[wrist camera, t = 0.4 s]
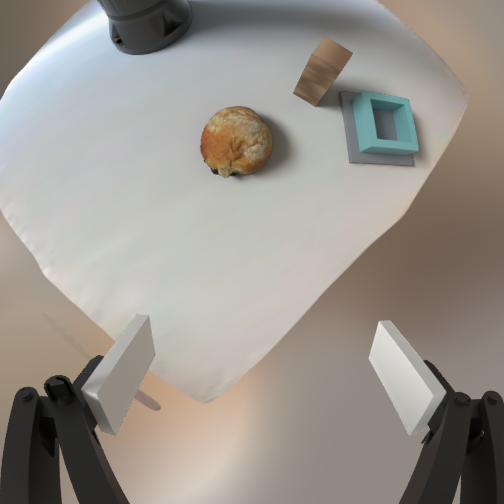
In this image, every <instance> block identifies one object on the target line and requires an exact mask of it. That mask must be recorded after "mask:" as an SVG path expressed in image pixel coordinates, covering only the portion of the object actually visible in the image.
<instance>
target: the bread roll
mask: <svg viewBox="0 0 504 504" xmlns="http://www.w3.org/2000/svg"><path fill="white" fill-rule="evenodd" d="M200 148H201V154H202V156H203V157H204V162H205V163H207V164H208V166H209V167H210V168H211V171H212V172H213V173H214V174H216V175H218V174H219V175H220V176H222V177H224V178H226V177H227V178H228V177H229V176H235V175H237V174H242V175H244V174H250V173H254V172H255V171H257V170H258V169H260V168H261V167H262V166H263V165H264V164H265V163H266V160H267V159H268V158H269V156H270V154H271V152H272V149H273V140H272V135H271V132H270V129H269V128H268V127H267V126H266V124H264V122H263V121H262V119H261V118H260V117H259V116H258V115H257V114H256V113H255V111H253V110H252V109H250V108H247V107H242V106H235V107H228V108H226V109H223V110H220V111H219V112H217V113H216V114H215V115H214V116H213V117H212V118H211V119H210V121H209V122H208V123H207V125H206V126H205V128H204V131H203V133H202V138H201V146H200Z"/></svg>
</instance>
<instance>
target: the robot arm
mask: <svg viewBox="0 0 504 504" xmlns="http://www.w3.org/2000/svg"><path fill="white" fill-rule="evenodd" d="M97 1H98V3H99V4H100V5H101V7H102V8H103V10H104V11H105V13H106V14H107V16H108V19H109V30H110V37H111V40H112V42H113V43H114V45H115V46H116V47H117V49H118V50H120V51H121V52H123V53H126V54H132V55H139V54H146V53H151V52H154V51H157V50H160V49H162V48H164V47H166V46H168V45H170V44H171V43H173V42H175V41H176V40H177V39H179V38H180V37H181V36H182V35H183V34H184V33H185V32H186V31H187V29H188V28H189V26H190V24H191V21H192V11H191V7H190V4H189V3H188V1H187V0H97ZM154 356H155V350H154V344H153V338H152V332H151V326H150V319H149V315H139V314H137V315H136V316H135V317H134V319H133V320H132V321H131V322H130V324H129V325H128V326H127V328H126V329H125V330H124V331H123V333H122V334H121V335H120V337H119V338H118V339H117V341H116V342H115V343H114V345H113V346H112V347H111V349H110V350H109V351H108V353H107V354H106V355H105V356H100V355H98V356H96V357H95V358H93V359H91V360H90V361H89V363H88V364H87V366H86V368H84V369H83V371H82V373H80V375H79V376H78V377H77V378H76V380H75V381H74V383H73V384H71V382H70V380H69V378H67V377H66V376H62V375H55V376H53V377H50V378H49V379H48V380H46V382H45V384H44V389H45V391H46V393H47V395H48V397H46V396H39V394H38V393H37V391H36V389H34V388H32V387H24V388H22V389H20V390H19V391H18V392H17V393H16V395H15V398H14V402H13V406H12V410H11V414H10V419H9V423H8V428H7V433H6V438H5V445H4V451H3V458H2V467H1V480H0V504H62V500H61V488H60V471H59V470H60V468H59V443H60V447H61V451H62V455H63V458H64V461H65V465H66V468H67V471H68V474H69V477H70V480H71V483H72V485H73V489H74V491H75V494H76V496H77V499H78V501H79V504H130V503H129V501H128V500H127V498H126V496H125V494H124V493H123V491H122V489H121V487H120V485H119V483H118V481H117V479H116V477H115V475H114V473H113V471H112V469H111V467H110V465H109V463H108V460H107V459H106V456H105V454H104V451H103V449H102V447H101V444H100V442H99V439H98V437H97V435H96V432H95V430H94V428H95V427H96V425H97V424H98V426H99V428H100V430H101V431H102V432H105V433H108V434H112V435H115V436H116V434H117V432H118V430H119V427H120V426H121V423H122V421H123V419H124V417H125V415H126V413H127V411H128V409H129V407H130V404H131V402H132V400H133V398H134V396H135V394H136V392H137V390H138V388H139V386H140V384H141V382H142V380H143V378H144V376H145V374H146V372H147V370H148V368H149V366H150V364H151V362H152V360H153V358H154ZM369 360H370V362H371V364H372V366H373V368H374V369H375V371H376V373H377V375H378V377H379V378H380V380H381V382H382V384H383V386H384V388H385V390H386V391H387V393H388V395H389V397H390V399H391V401H392V403H393V405H394V407H395V409H396V410H397V412H398V414H399V416H400V418H401V420H402V422H403V424H404V426H405V428H406V430H407V432H408V434H409V436H412V435H415V434H419V433H422V432H423V430H424V429H425V427H426V426H427V424H428V426H429V428H430V430H429V432H428V433H427V435H426V436H425V438H424V439H423V440H422V442H421V443H422V444H423V443H424V441H425V443H424V446H423V448H422V451H421V454H420V457H419V459H418V462H417V464H416V467H415V469H414V472H413V474H412V476H411V479H410V481H409V483H408V486H407V488H406V490H405V492H404V494H403V496H402V498H401V500H400V502H399V504H452V502H453V499H454V496H455V493H456V489H457V486H458V482H459V479H460V475H461V494H460V504H504V403H503V399H502V397H501V396H500V395H499V394H498V393H497V392H495V391H487V392H485V394H484V395H483V397H482V398H481V399H473V400H471V398H470V397H469V396H468V395H467V394H464V393H462V392H455V391H454V390H453V389H452V387H451V386H450V385H449V383H448V382H447V381H446V380H445V378H444V377H442V374H441V373H440V372H438V369H437V368H436V367H435V366H434V365H433V364H432V363H430V362H429V361H427V360H424V361H423V360H422V359H421V358H420V356H419V355H418V354H417V353H416V351H415V350H414V349H413V348H412V347H411V345H410V344H409V343H408V341H407V340H406V339H405V338H404V337H403V335H402V334H401V333H400V332H399V331H398V329H397V328H396V327H395V326H394V325H393V324H392V322H391V321H390V320H388V321H379V323H378V327H377V331H376V335H375V339H374V342H373V345H372V349H371V352H370V356H369ZM483 431H484V434H483Z"/></svg>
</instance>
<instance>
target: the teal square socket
mask: <svg viewBox="0 0 504 504" xmlns="http://www.w3.org/2000/svg"><path fill="white" fill-rule="evenodd" d="M339 95H340V100H341V106H342V112H343V118H344V125H345V132H346V139H347V147H348V155H349V163H370V164H388V165H403V166H413V165H414V164H413V156H412V153H415V152H418V151H419V148H418V141H417V135H416V130H415V125H414V120H413V115H412V110H411V106H410V102H409V99H406V98H401V97H396V96H391V95H386V94H380V93H374V92H367V91H361V92H360V93H354V92H345V91H341V92H340V93H339Z"/></svg>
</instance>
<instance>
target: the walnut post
mask: <svg viewBox="0 0 504 504" xmlns="http://www.w3.org/2000/svg"><path fill="white" fill-rule="evenodd" d="M352 54H353V53H352V52H351V51H349V50H347V49H346V48H344V47H342V46H341V45H339V44H337V43H336V42H334V41H332V40H331V39H329V38H327V37H325V38H324V39H323V40H322V41H321V43H320V44H319V45H318V47H317V48H316V49H315V50H314V52H313V53H312V54H311V57H310V59H309V61H308V63H307V65H306V67H305V69H304V71H303V73H302V75H301V77H300V80H299V82H298V84H297V86H296V88H295V90H294V92H293V94H295V95H297V96H298V97H300V98H302V99H303V100H305V101H307V102H308V103H310V104H312V105H313V106H316V105H317V103H318V102H319V101H320V99H321V98H322V97H323V95H324V94H325V93H326V91H327V90H328V88H329V87H330V86H331V84H332V83H333V82H334V80H335V79H336V78H337V76H338V75H339V74H340V72H341V71H342V70H343V68H344V66H345V65H346V63H347V62H348V60H349V59H350V57H351V56H352Z"/></svg>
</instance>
